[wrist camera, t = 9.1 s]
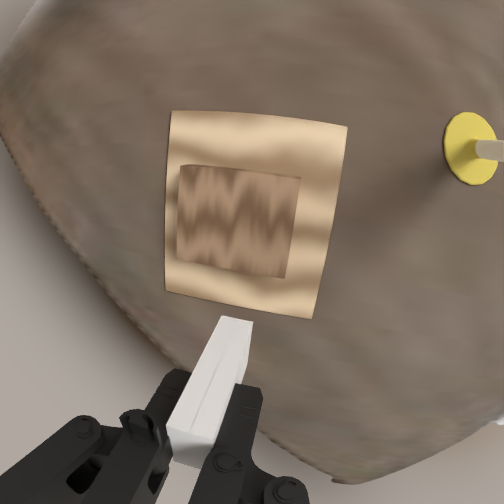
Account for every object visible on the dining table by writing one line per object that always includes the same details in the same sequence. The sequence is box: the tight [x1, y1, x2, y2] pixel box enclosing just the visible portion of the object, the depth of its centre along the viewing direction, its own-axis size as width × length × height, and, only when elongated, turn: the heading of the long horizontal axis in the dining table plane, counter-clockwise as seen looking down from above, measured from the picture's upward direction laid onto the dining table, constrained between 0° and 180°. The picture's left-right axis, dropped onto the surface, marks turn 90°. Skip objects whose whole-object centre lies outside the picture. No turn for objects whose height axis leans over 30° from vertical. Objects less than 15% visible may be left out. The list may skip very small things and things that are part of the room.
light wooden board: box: [165, 111, 347, 319], centre depth 37 cm, size 26×22×1 cm
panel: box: [177, 164, 301, 279], centre depth 35 cm, size 12×3×14 cm
